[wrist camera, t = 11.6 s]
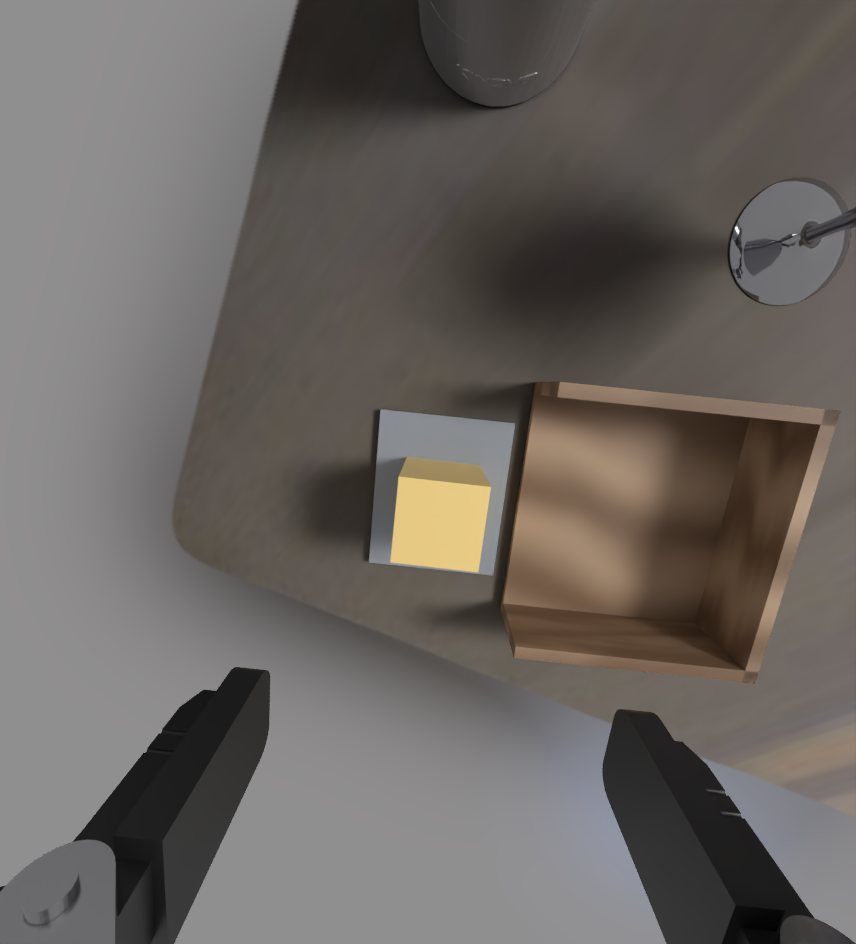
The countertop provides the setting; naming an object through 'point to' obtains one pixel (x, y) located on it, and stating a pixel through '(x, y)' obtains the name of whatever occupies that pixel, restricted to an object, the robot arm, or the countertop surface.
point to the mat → (442, 443)
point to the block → (440, 514)
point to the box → (657, 528)
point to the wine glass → (790, 241)
